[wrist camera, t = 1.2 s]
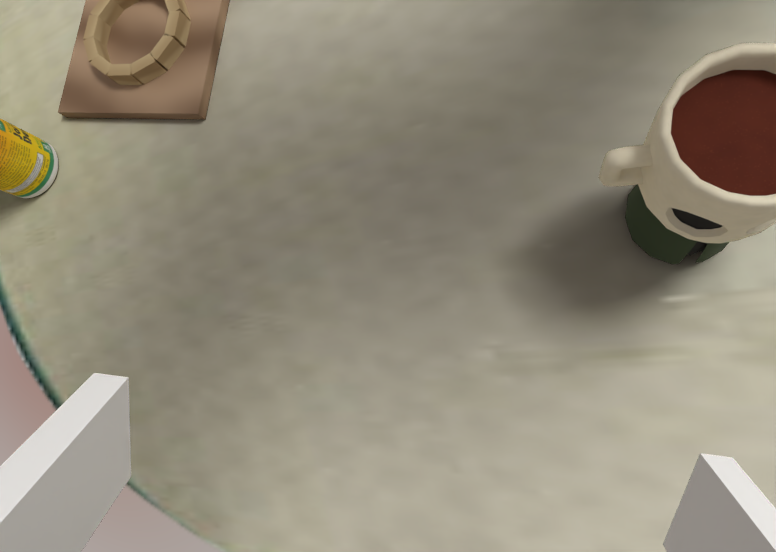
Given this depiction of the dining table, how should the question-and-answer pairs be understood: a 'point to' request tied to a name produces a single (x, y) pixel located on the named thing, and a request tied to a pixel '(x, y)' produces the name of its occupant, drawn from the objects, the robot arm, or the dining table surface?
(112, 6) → the collar stand
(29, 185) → the supplement bottle
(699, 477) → the robot arm
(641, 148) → the character mug
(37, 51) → the dining table surface
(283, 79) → the dining table surface
